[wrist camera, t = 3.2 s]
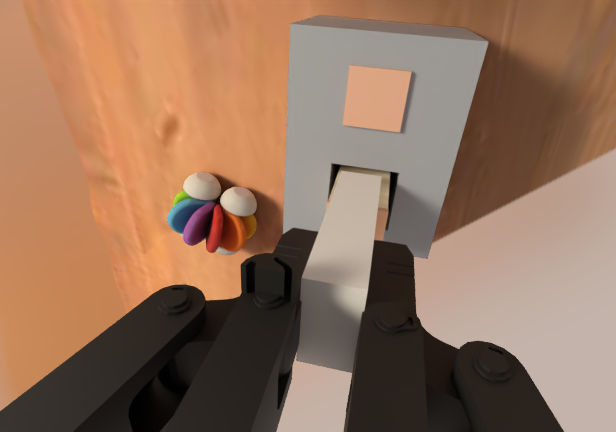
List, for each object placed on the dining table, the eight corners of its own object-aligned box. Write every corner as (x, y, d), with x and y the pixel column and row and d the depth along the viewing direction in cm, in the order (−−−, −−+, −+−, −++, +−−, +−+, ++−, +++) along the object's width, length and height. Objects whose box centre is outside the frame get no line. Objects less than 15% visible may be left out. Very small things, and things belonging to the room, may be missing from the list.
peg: (339, 193, 34) (321, 251, 26) (344, 151, 32) (326, 202, 24) (383, 200, 33) (378, 261, 26) (391, 158, 31) (388, 211, 24)
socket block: (307, 183, 41) (281, 235, 32) (319, 15, 33) (289, 24, 24) (422, 201, 39) (427, 260, 31) (465, 27, 31) (489, 42, 22)
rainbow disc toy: (251, 248, 47) (229, 287, 41) (179, 218, 47) (146, 252, 41) (270, 193, 43) (248, 227, 37) (190, 159, 43) (155, 187, 37)
